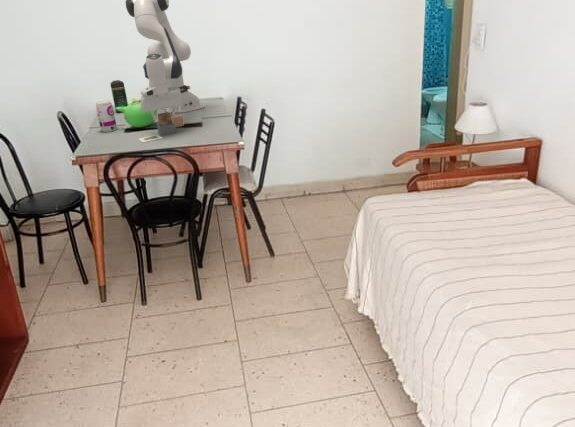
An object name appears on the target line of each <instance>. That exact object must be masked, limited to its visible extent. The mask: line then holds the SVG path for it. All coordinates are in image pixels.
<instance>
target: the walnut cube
mask: <svg viewBox="0 0 575 427" xmlns="http://www.w3.org/2000/svg"><path fill="white" fill-rule="evenodd" d="M157 120H158V124H160V125H162V126H164V125H168V124H172V119H171V113H169V112H162V113H157Z"/></svg>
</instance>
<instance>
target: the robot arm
mask: <svg viewBox="0 0 575 427" xmlns="http://www.w3.org/2000/svg"><path fill="white" fill-rule="evenodd" d="M169 3H170V0H125V8H126V11H127V13H128V14H129V16H131V17H132V18H134V22H135V26H136V30H137V32H138V33H139V34H140V35H141V36H142V37H144V38H146V39H149V40H152V41H153V40H154V41H157V42H153V43H150V45H149V46H148V47H147V50H146V51H147V56H146V57H145V63H144V64H143V66H142V68H143V72H144V77H145V78H146V79H148V86H147V87H146V88H143V89H141V90H140V95H141V97H140V100H141V109H142V110H143V111H144V112H148V111H149V112H150V114H151V115H152V116H153V119H154V120H155V121H156V120H158V115H157V116H156V115H154V114H153V113H154V112H153V110H163V109H166V112H168V113H170V114H171V116H176V114H177V113H181V114H183V113H187V112H193V111H197V110H200V109H204V108H205V105H204V104H203V103H201V101H200V99H199V97H198V96H197V95H195V94H194V93H192V92H191V91H189V90H191V86H190V85H185V83H184V76H183V66H182V62H183V61H187V60H189V58H190V57H191V54H192V52H191V51H192V50H191V47H190V45H189V44H188V43H187V42H186V41H183V40H182V39H181V38H180V37H179V36H178V35H177V34H176V33H175V31H174V30H173V29H172V26H171V24H170V22H169V19H168V16H167V14H166V10H168V8H169V6H170V4H169ZM166 112H165V113H166Z"/></svg>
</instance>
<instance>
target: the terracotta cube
mask: <svg viewBox="0 0 575 427" xmlns="http://www.w3.org/2000/svg"><path fill="white" fill-rule="evenodd" d="M171 119H172V123H174V124H175V128H179V127H182V126H183V127H184V126H185V123H184V116H183V115H181V114H177V115H176V114H175V116H171Z"/></svg>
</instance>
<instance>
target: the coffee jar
mask: <svg viewBox="0 0 575 427" xmlns="http://www.w3.org/2000/svg"><path fill="white" fill-rule="evenodd" d="M110 90H111V93H112V94H111V95H112V98H113V104H114V109H115V113H121V114H122V113H123V112H121V111H118V110H116V107H126V106H128V105H129V103H128V102H129V101H128V97H127V92H126V87H125V84H124V81H123V80H122V81H121V80H119V79H118V80H116V79H115V80H112V81H111V82H110ZM123 114H124V113H123Z"/></svg>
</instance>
